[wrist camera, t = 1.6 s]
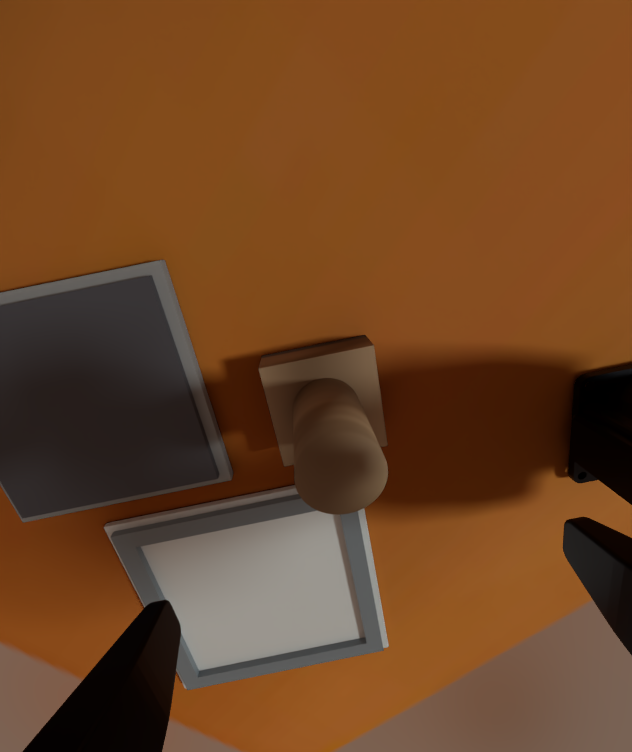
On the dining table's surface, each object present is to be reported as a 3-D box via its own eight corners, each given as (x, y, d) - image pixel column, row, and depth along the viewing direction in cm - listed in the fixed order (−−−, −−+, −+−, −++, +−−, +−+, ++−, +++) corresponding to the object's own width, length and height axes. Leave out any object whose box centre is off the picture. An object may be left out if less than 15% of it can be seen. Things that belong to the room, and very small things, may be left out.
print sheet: (357, 472, 20) (359, 480, 19) (387, 642, 24) (390, 653, 24) (106, 523, 20) (99, 532, 19) (186, 682, 24) (183, 695, 24)
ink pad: (164, 259, 15) (156, 260, 14) (233, 473, 19) (230, 485, 18) (-89, 311, 15) (-114, 315, 14) (30, 514, 19) (17, 528, 18)
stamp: (364, 334, 17) (411, 389, 11) (378, 425, 19) (425, 522, 12) (262, 355, 17) (243, 422, 11) (284, 444, 19) (281, 551, 12)
